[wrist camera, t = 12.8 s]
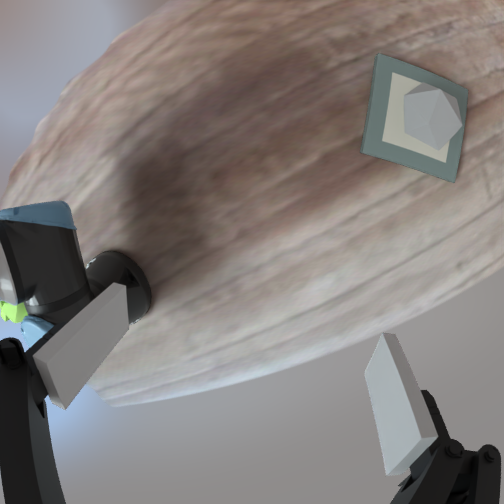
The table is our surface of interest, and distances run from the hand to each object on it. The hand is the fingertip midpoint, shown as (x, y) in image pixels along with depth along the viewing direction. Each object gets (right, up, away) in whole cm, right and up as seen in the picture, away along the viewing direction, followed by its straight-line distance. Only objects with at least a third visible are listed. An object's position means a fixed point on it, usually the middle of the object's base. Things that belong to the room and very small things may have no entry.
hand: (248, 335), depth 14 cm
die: (+25, +24, +20) cm, 40 cm away
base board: (+25, +24, +22) cm, 41 cm away
